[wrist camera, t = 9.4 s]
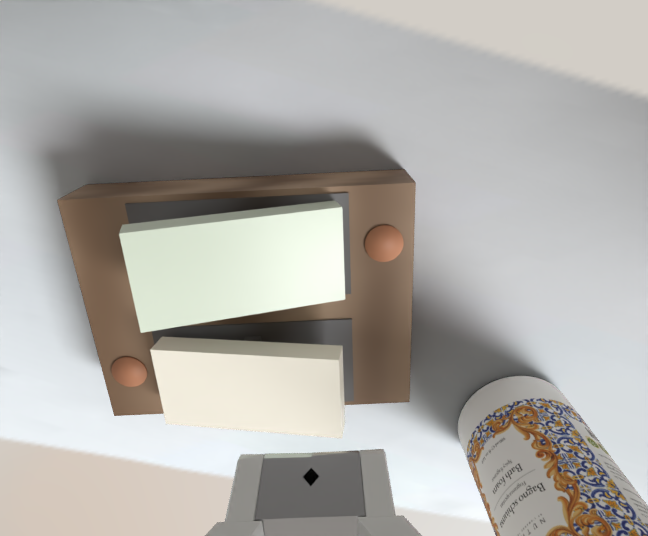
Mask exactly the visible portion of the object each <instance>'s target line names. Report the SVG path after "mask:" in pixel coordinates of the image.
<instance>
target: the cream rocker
mask: <svg viewBox="0 0 648 536" xmlns="http://www.w3.org/2000/svg"><path fill="white" fill-rule="evenodd" d="M150 352H151V356H152V361H153V366H154V370H155V375H156V379H157V384H158V389H159V393H160V398H161V403H162V407H163V412H164V417H165V421H166V424H174V425H186V426H198V427H210V428H222V429H234V430H246V431H258V432H270V433H282V434H294V435H306V436H318V437H330V438H342V436H343V430H344V425H345V403H344V375H343V347H342V346H340V345H320V344H300V343H280V342H260V341H240V340H221V339H201V338H181V337H161V338H160V339H159V340H158V342H157V343H156V344H155V345H154V346H153V347H152V348H151V349H150Z"/></svg>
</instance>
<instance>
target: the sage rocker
mask: <svg viewBox="0 0 648 536" xmlns="http://www.w3.org/2000/svg"><path fill="white" fill-rule="evenodd" d="M119 237H120V241H121V246H122V250H123V255H124V259H125V264H126V268H127V273H128V277H129V282H130V286H131V291H132V295H133V300H134V304H135V309H136V314H137V318H138V323H139V327H140V332H141V333H143V332H150V331H156V330H162V329H168V328H174V327H180V326H186V325H192V324H198V323H205V322H211V321H217V320H223V319H229V318H235V317H241V316H247V315H253V314H260V313H266V312H272V311H278V310H284V309H290V308H296V307H302V306H308V305H315V304H321V303H327V302H333V301H339V300H345V274H344V242H343V210H342V206H341V205H339V204H338V203H337V202H336V201H335V200H333V201H324V202H316V203H307V204H298V205H290V206H281V207H272V208H264V209H255V210H246V211H237V212H229V213H220V214H211V215H203V216H194V217H185V218H177V219H168V220H159V221H151V222H142V223H133V224H125V225H122V227H121V229H120V232H119Z"/></svg>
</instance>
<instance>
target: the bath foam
mask: <svg viewBox="0 0 648 536" xmlns="http://www.w3.org/2000/svg"><path fill="white" fill-rule="evenodd" d="M458 434H459V439H460V442H461V445H462V447H463V450H464V453H465V455H466V458H467V460H468V464H469V467H470V469H471V472H472V474H473V477H474V480H475V482H476V485H477V487H478V490H479V493H480V495H481V498H482V501H483V503H484V506H485V508H486V511H487V514H488V516H489V519H490V521H491V524H492V526H493V529H494V532H495V535H496V536H648V506H647V504H646V503H645V502H644V500H643V499H642V498H641V496H640V495H639V494H638V492H637V491H636V490H635V488H634V487H633V486H632V484H631V483H630V482H629V480H628V479H627V478H626V476H625V475H624V474H623V472H622V471H621V470H620V468H619V467H618V466H617V464H616V463H615V462H614V460H613V459H612V458H611V456H610V455H609V454H608V452H607V451H606V450H605V448H604V447H603V446H602V444H601V443H600V442H599V440H598V439H597V438H596V436H595V435H594V434H593V432H592V431H591V430H590V428H589V427H588V426H587V424H586V423H585V422H584V420H583V419H582V418H581V416H580V415H579V414H578V413H577V412H576V410H575V409H574V408H573V406H572V405H571V404H570V402H569V401H568V400H567V398H566V397H565V396H564V395H563V393H562V392H561V391H560V390H559V389H558V388H556V387H555V386H554V385H552V384H551V383H549V382H547V381H545V380H542V379H539V378H536V377H530V376H511V377H506V378H502V379H499V380H496V381H493V382H491V383H489V384H487V385H485V386H484V387H482V388H481V389H479V390H478V391H477V392H476V393H474V394H473V395H472V396H471V397H470V399H469V400H468V401H467V402H466V404H465V405H464V407H463V409H462V411H461V414H460V417H459V421H458Z"/></svg>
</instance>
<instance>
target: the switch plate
mask: <svg viewBox="0 0 648 536" xmlns="http://www.w3.org/2000/svg"><path fill="white" fill-rule="evenodd" d="M415 185H416V183H415V181H414V180H413V179H412V178H411V177H410V175H409V174H408V173H407V172H406V171H405V169H397V170H377V171H356V172H336V173H315V174H294V175H274V176H253V177H232V178H212V179H191V180H170V181H150V182H129V183H108V184H88V185H85V186H83V187H81V188H79V189H77V190H75V191H73V192H71V193H69V194H68V195H66V196H64V197H62V198H60V199H58V200H57V201H58V205H59V209H60V213H61V216H62V220H63V224H64V228H65V232H66V235H67V239H68V243H69V247H70V250H71V254H72V258H73V262H74V265H75V269H76V273H77V277H78V281H79V284H80V288H81V292H82V296H83V299H84V303H85V307H86V311H87V314H88V318H89V322H90V326H91V330H92V333H93V337H94V341H95V345H96V348H97V352H98V356H99V360H100V363H101V367H102V371H103V375H104V379H105V382H106V386H107V390H108V394H109V397H110V401H111V405H112V409H113V412H114V416H121V415H142V414H163V413H164V412H163V407H162V403H161V398H160V393H159V389H158V384H157V379H156V375H155V370H154V366H153V361H152V356H151V352H150V349H151V348H152V347H153V346H154V345H155V344H156V343H157V342H158V340H159V339H160V338H161V337H181V338H201V339H221V340H240V341H260V342H280V343H300V344H320V345H340V346H342V347H343V375H344V403H345V405H354V404H376V403H397V402H409V396H410V361H411V326H412V291H413V255H414V220H415ZM333 200H335V201H336V202H337V203H338V204H339V205H341V206H342V210H343V242H344V274H345V300H339V301H333V302H327V303H321V304H315V305H308V306H302V307H296V308H290V309H284V310H278V311H272V312H266V313H260V314H253V315H247V316H241V317H235V318H229V319H223V320H217V321H211V322H205V323H198V324H192V325H186V326H180V327H174V328H168V329H162V330H156V331H150V332H143V333H141V332H140V327H139V323H138V318H137V314H136V309H135V304H134V300H133V295H132V291H131V286H130V282H129V277H128V273H127V268H126V264H125V259H124V255H123V250H122V246H121V241H120V237H119V232H120V229H121V227H122V225H125V224H133V223H142V222H151V221H159V220H168V219H177V218H185V217H194V216H203V215H211V214H220V213H229V212H237V211H246V210H255V209H264V208H272V207H281V206H290V205H298V204H307V203H316V202H324V201H333Z"/></svg>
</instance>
